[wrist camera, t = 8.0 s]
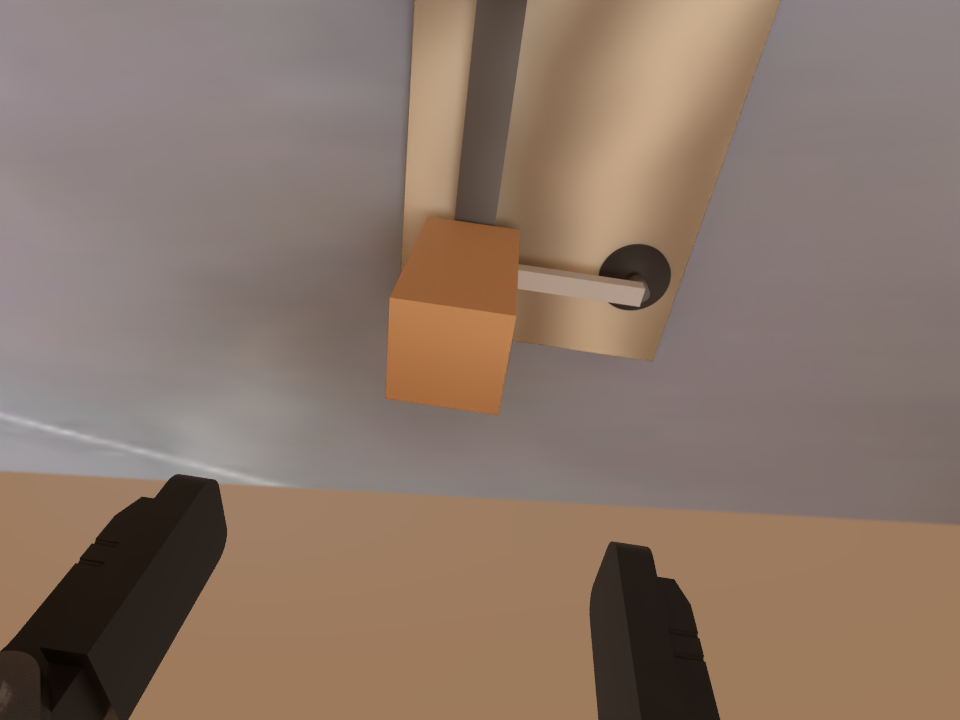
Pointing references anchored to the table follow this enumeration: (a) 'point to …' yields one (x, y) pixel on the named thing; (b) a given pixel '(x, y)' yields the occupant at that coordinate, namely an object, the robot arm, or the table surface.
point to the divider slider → (471, 312)
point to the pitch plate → (580, 142)
